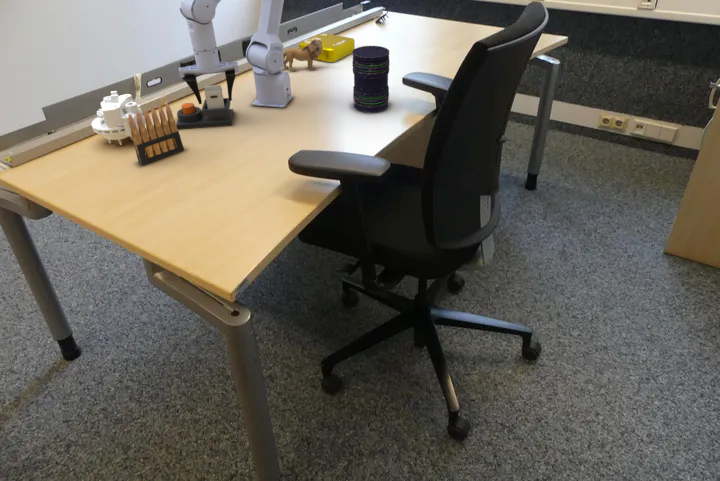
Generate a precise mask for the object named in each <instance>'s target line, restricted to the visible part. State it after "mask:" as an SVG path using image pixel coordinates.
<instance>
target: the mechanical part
mask: <svg viewBox="0 0 720 481" xmlns="http://www.w3.org/2000/svg"><path fill="white" fill-rule="evenodd" d="M102 99H103V100H102V101H101V102H100V108H99V109H98V110H96V116H97V117H96V118H94V119H93V120H92V121H91V128H92V130H93V132H94V133H96V134H98V135H102V136H103V137H104V139H106V140H107V141H108V144H112V143H113V142H112V141H118V144H119V146H122V145H123V142H122V140H124V139H127V138H129V137H130V141H133V138H132V135H131V129H130V125H129V119H128V116H129V114H130V115H131V116H132V118H133V120H134V122H135V125H136V127H137V130H138V132H139V127H138V123H137V118H136V113H137V112H138V113H139V114H140V116H141V118H142V120H143V123H144V126H145V127H146V122H145V118H144V112H143V110H142V106H141V104H140V103H137V102H136V101H134V99H133V95H132V94H131V93H125V94H121V95H119V93H118V90H112V91H110V95H107V96H104V97H102ZM139 134H140V133H139Z"/></svg>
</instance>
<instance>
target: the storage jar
mask: <svg viewBox="0 0 720 481" xmlns="http://www.w3.org/2000/svg"><path fill="white" fill-rule="evenodd" d="M351 63H352V64H351V65H352V74H353V87H352V88H353V89H352V91H353V93H352V97H353V98H352V99H353V108H354V109H355V110H356V111H358V112H361V113H364V114H365V113H366V114H367V113H368V114H376V113H381V112H383V111H386V110H387V109H388V108H389V99H390V92H389V91H390V86H389V73H390V50H389V49H388V48H386V47H384V46H379V45H364V46H359V47H356V48H355V49H354V50H353V53H352V62H351Z"/></svg>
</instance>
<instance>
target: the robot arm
mask: <svg viewBox="0 0 720 481" xmlns="http://www.w3.org/2000/svg"><path fill="white" fill-rule="evenodd" d="M221 1H222V0H181V3H180V7H179V12H180V14H181V15H182V17H183V18H184V19H185V20H186V22H187V27H188V31H189V36H190V41H191V46H192V51H193V55H194V61H195V64H192V65H187V66H181V67H178V75H179V78H180V79H183V78H184V79H185V80H184V81H185V83H186V84H187V86H188V87H189V89H191V91H192V93H193V94H194V97H196V100H197V102H198V105H203V101H202V96H201V93H200V90H199V85H198V80H197V79H198V78H197V76H203V75H211V74H222V73H224V74H225V75H224V76H225V80H226V81H225V82H226V88H227V96H228V97H227V98H229V101H230V102H232V101H233V99H232V98H233V97H232V96H233V95H232V94H233V87H234V84H235V80H236V73H240V67H239V62H238V61H220V56H219V52H218V51H219V50H218V46H217V40H216V35H215V30H214V23H213V20H214V18H215V16H216V8H218V4H219V3H220V2H221ZM284 3H285V0H261V5H260V11H259V17H258V18H259V20H258V25H257V31H256V32H255V33H254V34H253V35H251V38H250V42H249V45H248V46H247V48H246V51H245V59H246V61H247V63H248V64H249V65H251V70H252V72H253V79H254V84H255V85H254V86H255V93H256V99H255V100H254V101H253V103H252V106H256V107H267V108H268V107H269V108H270V107H271V108H286V106H287V105H288V104H289V103H290V101H291V100H292V99H293V97H294V96H293V95H292V84H291V77H290V73H289V72H288V71H286V70H282V69H283V67H284V64H283V63H284V61H285V59H284V56H283V54H284V44H283V43H282V40H281V39H280V37H279V35H280V34H279V33H280V26H281V22H282V16H283V15H282V14H283V9H284ZM282 66H283V67H282ZM281 68H282V69H281Z"/></svg>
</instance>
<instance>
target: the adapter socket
mask: <svg viewBox="0 0 720 481" xmlns="http://www.w3.org/2000/svg"><path fill="white" fill-rule="evenodd" d="M223 100H224V106H225V108H218V109H208V107H207V102H206V98H205V99H204V101H203V103H202V108H201V110H202V114H203V116H209V115H223V114H229V109H231V101H229V97H223Z"/></svg>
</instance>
